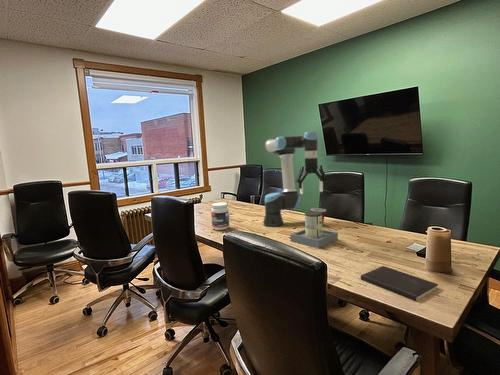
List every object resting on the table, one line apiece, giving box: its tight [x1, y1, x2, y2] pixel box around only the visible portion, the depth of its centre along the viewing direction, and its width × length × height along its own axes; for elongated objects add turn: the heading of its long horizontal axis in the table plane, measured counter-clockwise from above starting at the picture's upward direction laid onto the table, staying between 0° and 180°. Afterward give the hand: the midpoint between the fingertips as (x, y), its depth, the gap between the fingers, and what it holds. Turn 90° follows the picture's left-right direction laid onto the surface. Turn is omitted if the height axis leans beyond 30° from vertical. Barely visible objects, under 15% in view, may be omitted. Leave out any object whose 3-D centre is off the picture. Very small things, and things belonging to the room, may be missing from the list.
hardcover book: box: [360, 265, 439, 302], centre depth 118 cm, size 16×23×2 cm
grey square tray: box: [289, 228, 339, 249], centre depth 177 cm, size 20×20×4 cm
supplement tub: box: [210, 202, 230, 231], centre depth 214 cm, size 13×13×18 cm
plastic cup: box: [310, 207, 327, 226], centre depth 210 cm, size 11×11×12 cm
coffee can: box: [304, 210, 323, 238], centre depth 176 cm, size 10×10×14 cm
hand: (311, 192), depth 178 cm, fingers open, 13 cm apart
